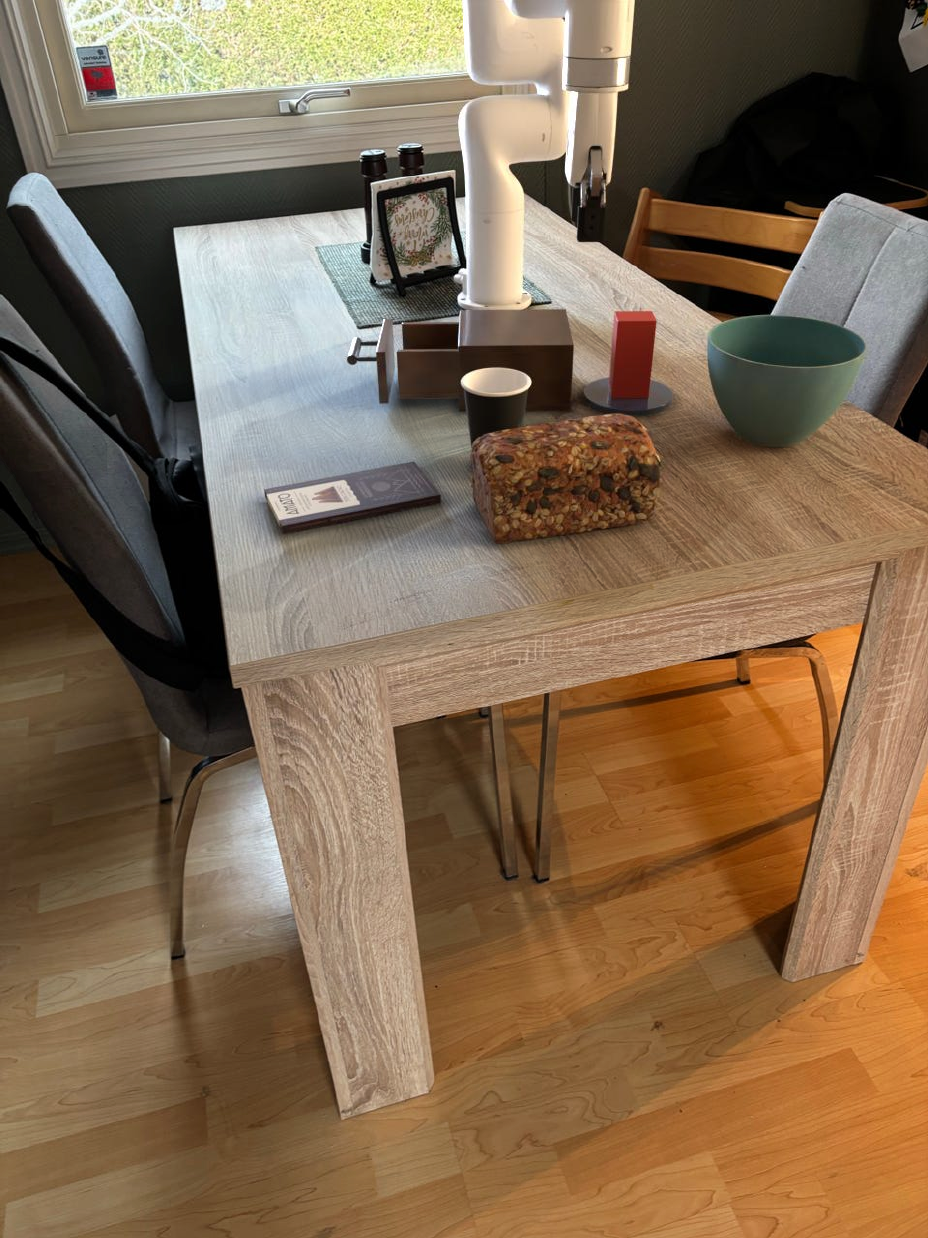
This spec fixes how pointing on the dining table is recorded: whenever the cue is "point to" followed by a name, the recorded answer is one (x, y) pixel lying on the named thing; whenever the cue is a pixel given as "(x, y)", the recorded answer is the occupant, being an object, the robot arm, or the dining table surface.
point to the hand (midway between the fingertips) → (586, 230)
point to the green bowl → (781, 374)
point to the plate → (627, 399)
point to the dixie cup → (494, 400)
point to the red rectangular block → (632, 354)
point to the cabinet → (521, 351)
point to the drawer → (415, 360)
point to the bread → (565, 477)
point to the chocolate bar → (350, 496)
